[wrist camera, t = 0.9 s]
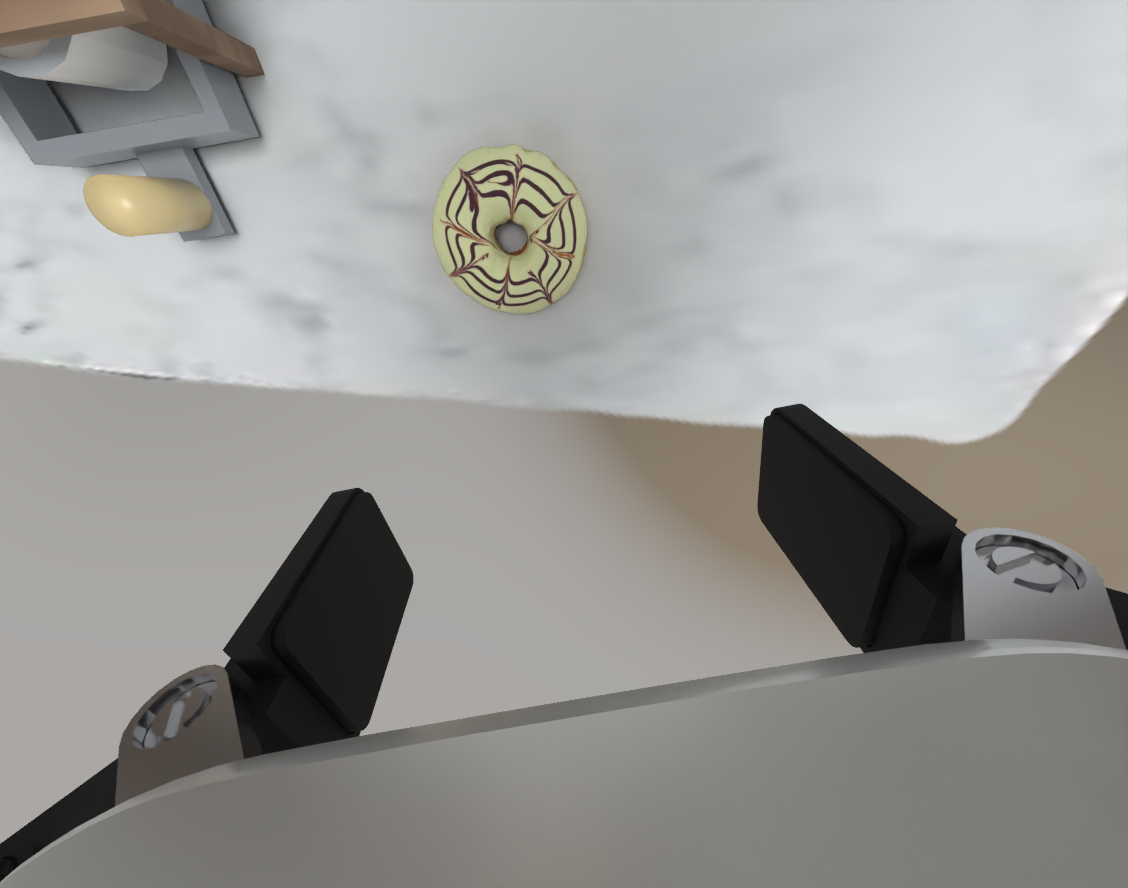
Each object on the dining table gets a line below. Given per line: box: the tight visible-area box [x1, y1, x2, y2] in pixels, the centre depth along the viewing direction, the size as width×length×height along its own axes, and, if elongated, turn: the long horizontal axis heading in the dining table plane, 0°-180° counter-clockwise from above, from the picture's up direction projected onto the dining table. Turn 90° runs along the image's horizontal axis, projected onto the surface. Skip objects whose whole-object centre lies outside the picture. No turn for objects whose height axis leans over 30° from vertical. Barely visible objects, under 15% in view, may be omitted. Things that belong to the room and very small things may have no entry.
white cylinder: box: [0, 26, 168, 91], centre depth 21 cm, size 7×7×7 cm
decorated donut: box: [432, 144, 587, 314], centre depth 30 cm, size 10×11×4 cm
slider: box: [0, 0, 260, 241], centre depth 21 cm, size 22×12×6 cm, turn 8°
